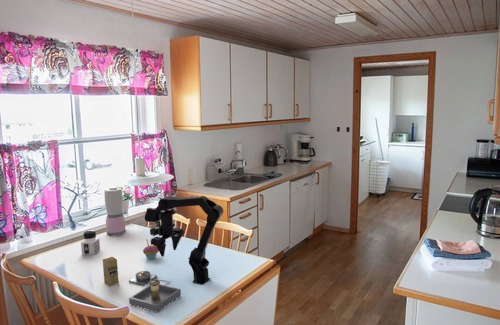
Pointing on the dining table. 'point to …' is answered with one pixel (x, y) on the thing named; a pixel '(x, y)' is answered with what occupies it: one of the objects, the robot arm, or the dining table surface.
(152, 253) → the cupcake
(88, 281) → the dining table surface
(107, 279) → the shoe polish box
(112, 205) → the blender
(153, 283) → the gold cylinder with rim
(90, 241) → the container
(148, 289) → the tray
